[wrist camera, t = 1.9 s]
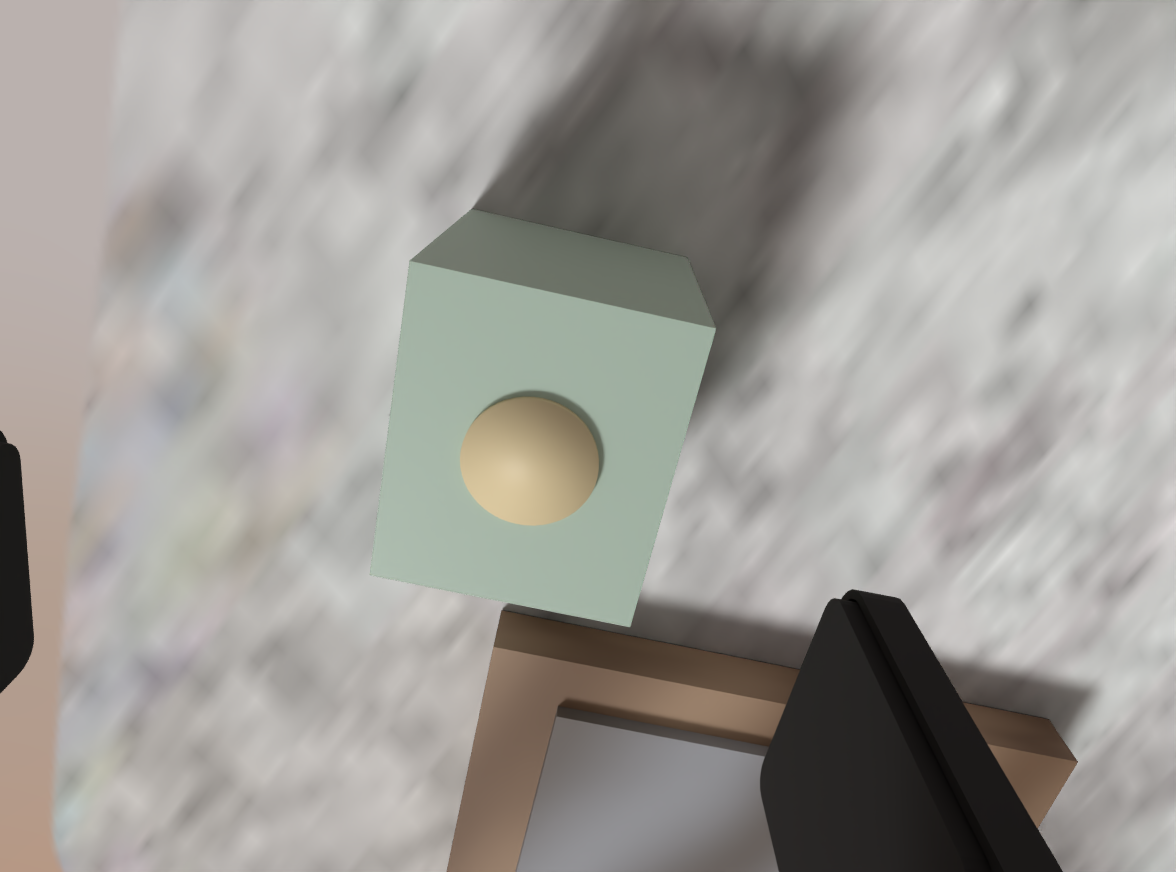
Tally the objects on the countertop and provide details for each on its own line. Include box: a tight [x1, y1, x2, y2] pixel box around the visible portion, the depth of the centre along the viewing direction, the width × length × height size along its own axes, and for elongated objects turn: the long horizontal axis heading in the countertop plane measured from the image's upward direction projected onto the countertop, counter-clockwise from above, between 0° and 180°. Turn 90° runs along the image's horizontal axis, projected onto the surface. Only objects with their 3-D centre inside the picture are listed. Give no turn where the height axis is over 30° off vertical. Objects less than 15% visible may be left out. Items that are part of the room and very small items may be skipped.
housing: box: [370, 209, 716, 627], centre depth 17 cm, size 5×6×6 cm
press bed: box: [447, 610, 1078, 872], centre depth 25 cm, size 16×13×2 cm
